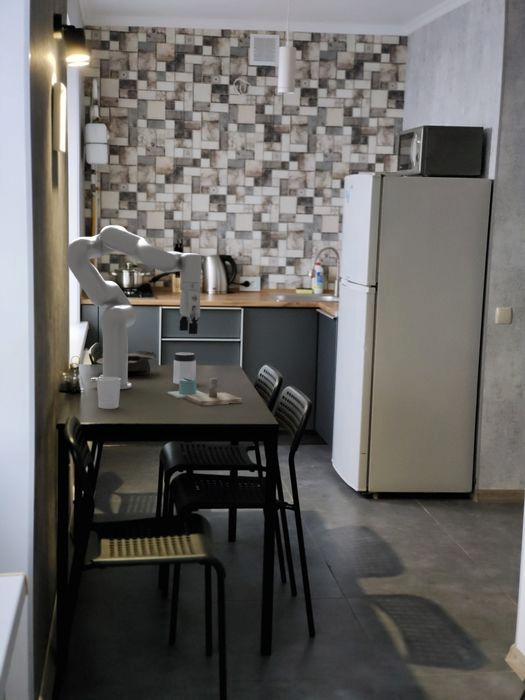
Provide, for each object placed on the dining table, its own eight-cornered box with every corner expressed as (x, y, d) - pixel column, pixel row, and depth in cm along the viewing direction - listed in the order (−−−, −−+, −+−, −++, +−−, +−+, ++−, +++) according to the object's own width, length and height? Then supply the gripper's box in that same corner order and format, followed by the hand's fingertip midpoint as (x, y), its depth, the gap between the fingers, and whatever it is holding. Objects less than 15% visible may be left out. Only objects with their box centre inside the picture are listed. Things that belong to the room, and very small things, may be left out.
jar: (199, 384, 369) (199, 354, 367) (182, 385, 364) (183, 355, 362) (186, 380, 376) (187, 351, 374) (169, 382, 370) (170, 352, 369)
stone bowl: (168, 373, 391) (167, 352, 390) (123, 384, 373) (122, 362, 371) (129, 366, 407) (128, 345, 405) (84, 376, 388) (83, 354, 387)
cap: (198, 394, 343) (198, 379, 342) (183, 395, 340) (183, 380, 340) (191, 391, 348) (191, 377, 348) (176, 392, 345) (177, 377, 345)
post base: (200, 405, 324) (201, 383, 323) (185, 398, 336) (185, 377, 335) (241, 402, 332) (242, 380, 331) (224, 396, 344) (225, 375, 343)
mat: (177, 398, 337) (177, 396, 337) (167, 393, 346) (167, 391, 346) (207, 396, 343) (207, 394, 343) (196, 391, 352) (196, 390, 352)
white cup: (99, 404, 321) (99, 376, 319) (122, 405, 320) (122, 377, 319) (94, 409, 313) (94, 379, 312) (117, 409, 313) (118, 380, 311)
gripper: (208, 288, 338) (206, 335, 341) (191, 284, 354) (189, 329, 356) (189, 288, 335) (187, 335, 337) (172, 284, 350) (170, 329, 353)
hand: (188, 332), depth 347 cm, fingers open, 9 cm apart
